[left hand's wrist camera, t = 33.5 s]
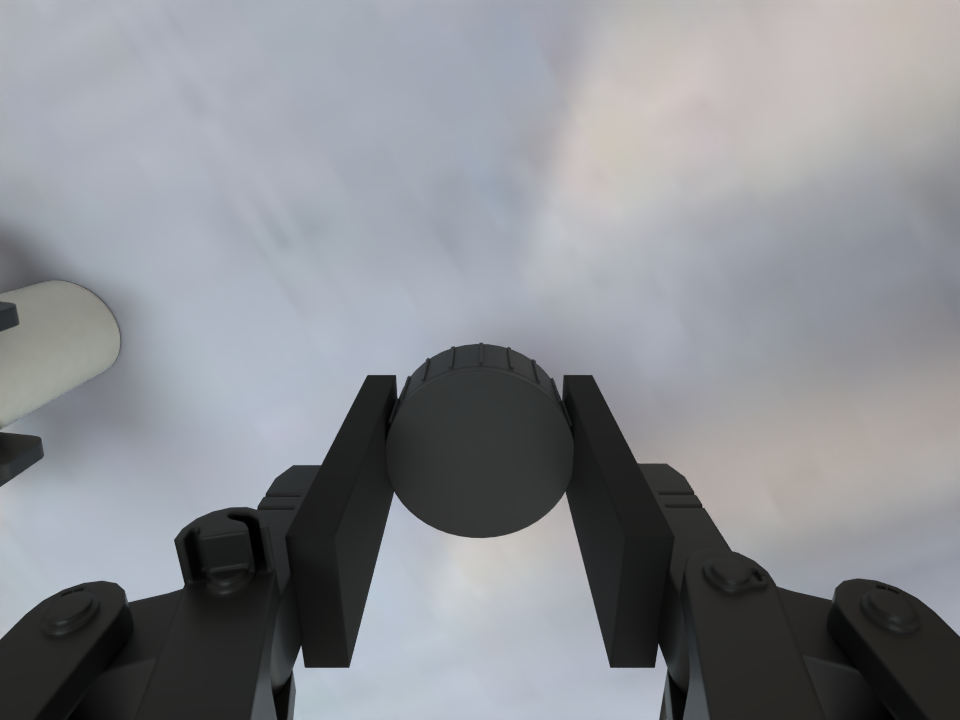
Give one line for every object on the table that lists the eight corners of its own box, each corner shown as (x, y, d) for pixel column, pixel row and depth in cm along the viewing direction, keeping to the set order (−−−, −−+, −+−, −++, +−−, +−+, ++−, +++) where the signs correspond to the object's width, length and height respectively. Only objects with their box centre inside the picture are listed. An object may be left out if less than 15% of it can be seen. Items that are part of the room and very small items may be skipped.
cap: (512, 518, 16) (517, 565, 14) (367, 454, 15) (352, 494, 13) (597, 390, 14) (615, 423, 13) (441, 311, 14) (435, 335, 12)
